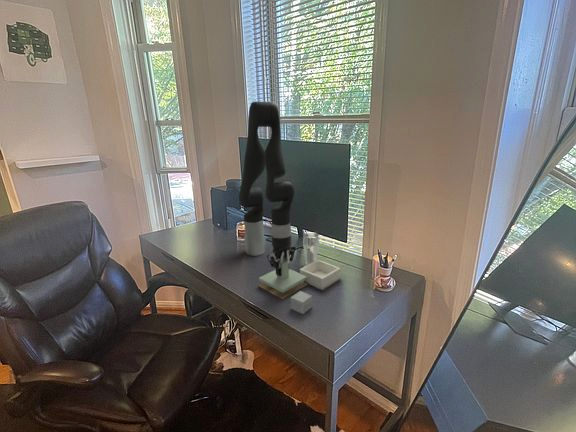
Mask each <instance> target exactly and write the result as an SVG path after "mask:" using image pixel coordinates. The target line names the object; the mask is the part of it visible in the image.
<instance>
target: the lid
mask: <svg viewBox="0 0 576 432" xmlns="http://www.w3.org/2000/svg"><path fill="white" fill-rule="evenodd" d="M306 279H307V276H304V275H302V274H300V272H298V271H295V270H293V269H291V268H290V263H289V264H288V261H286V260H284V259H283V262H282V263H281V276H278V275H276V269H274V270H272V271H270V272H268V273H266V274H264V275H262V276H260V277H258V281H260V282H261V283H265V284H267V285H269V286H271V287H273V288H274V289H276V290H278V291H280V292H282V293H283V292H285V291H287V290H289V289H290V288H292V287H294V286H296V285H297V284H299V283H301V282H303V281H305V280H306Z"/></svg>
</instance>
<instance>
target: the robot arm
mask: <svg viewBox="0 0 576 432" xmlns="http://www.w3.org/2000/svg"><path fill="white" fill-rule="evenodd" d="M247 123H248V126H247V139H246V146H245V147H246V148H245V154H244V162H243V171H242V179H241V183H240V187H239V193H238V201H239V205H240V206H241V208H245V209H247V208H251V209H250V210H249V211H246V212H245V214H243V225H244V234H243V239H244V242H243V243H244V251H245V252H246V254H247V255H248V256H253V257H257V256H260V255H264V254H265V252H266V251H265V235H264V234H265V231H264V192H263V189H262V188H261V187H259V186H253V184H254V183H255V182H256V181H257V180H258V179H259V178H260V177H261V176H262V174H263V172H264V171H266V184H265V185H266V187H265V197H266V199H267V201H268V202H270V203H277V202H281V204H280V205H278V206H275V207H273V208H271V214H270V215H271V227H270V228H271V230H270V232H271V233H270V234H271V246H272V253H271V254H268V255H266V258H267V260H268V263H269V264H270V266H271V268H274V269H275V270H276V275H278V276H281V263H282V262H283V259H284V260H286V261H288V264H289V265H290V263H291V262H293V260H294V256H295V252H296V246H293V245H292V227H291V210H292V209H291V208H292V204H293V200H294V197H295V186H294V185H293V184H292V182H290V181H279V182H275V180H278V179H279V178H281V177H283V176H285V175H286V167H285V162H284V157H283V150H282V136H281V135H282V131H281V129H282V128H281V117H280V110H279V106H278V104H277V103H276V102H273V101H252V102H251V103H250V105H249V110H248V122H247ZM263 127H264V128H269V127H270V130H271V134H270V138H269V141H268V143H267V146H266V148H265V146H264V144H263V142H262V141H261V139H260V136H259V133H258V130H259V128H263Z"/></svg>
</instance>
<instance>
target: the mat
mask: <svg viewBox="0 0 576 432" xmlns="http://www.w3.org/2000/svg"><path fill="white" fill-rule="evenodd" d="M257 285H258V287H259V288H262V289H263V290H264V291H267V292H269V293H271V294H272V295H274V296H276V297H277V298H279V299H281V300H284V299H285V298H288V297H289V296H291V295H292V294H294V293H296V292H297V291H298V292H299V291H300V290H301V289H303V288H304V287H307V286H308V283H306V282H301V283H299V284H297V285H296V286H294V287H292V288H290V289H289V290H287V291H285V292H283V293H282V292H280V291H278V290H276V289H274V288H273V287H271V286H269V285H267V284H265V283H263V282H261V283H259V284H257Z"/></svg>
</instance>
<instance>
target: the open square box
mask: <svg viewBox="0 0 576 432" xmlns="http://www.w3.org/2000/svg"><path fill="white" fill-rule="evenodd" d="M341 271H342V269H341V267H338V266H336V265H333V264H331V263H328V262H325V261H323V260H321V259H317V260H316V261H314V262H313V263H311V264H309V265H307V266H305V265H304V266H303V267H301V268H299V273H300V274H302V275H304V276H307V279H306V280H305V281H303V282H305V283H307V285H309V286H312V287H315V288H316V289H318V290H321V291H324V290H325V289H327V288H328V287H330V286H331V285H334V284H335V283H336V282H338V281H340V280H341V276H342V275H341V274H342V273H341Z"/></svg>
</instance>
